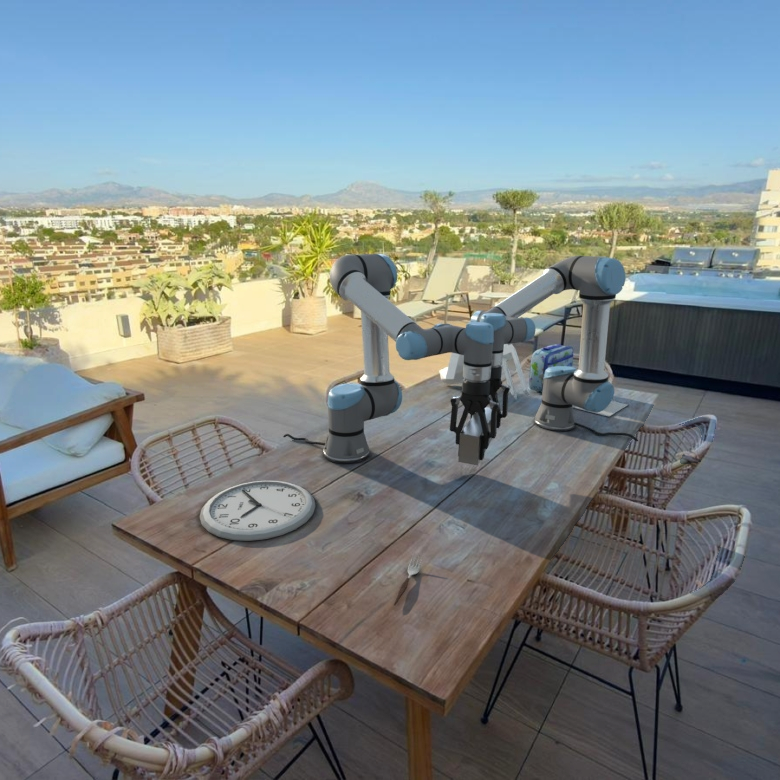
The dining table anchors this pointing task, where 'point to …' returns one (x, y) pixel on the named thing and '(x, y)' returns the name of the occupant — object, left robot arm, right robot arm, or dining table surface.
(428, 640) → the dining table surface
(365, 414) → the left robot arm
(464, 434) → the bar
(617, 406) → the invitation card
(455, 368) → the white plastic object
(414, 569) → the fork
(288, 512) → the wall clock
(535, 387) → the lunch box
